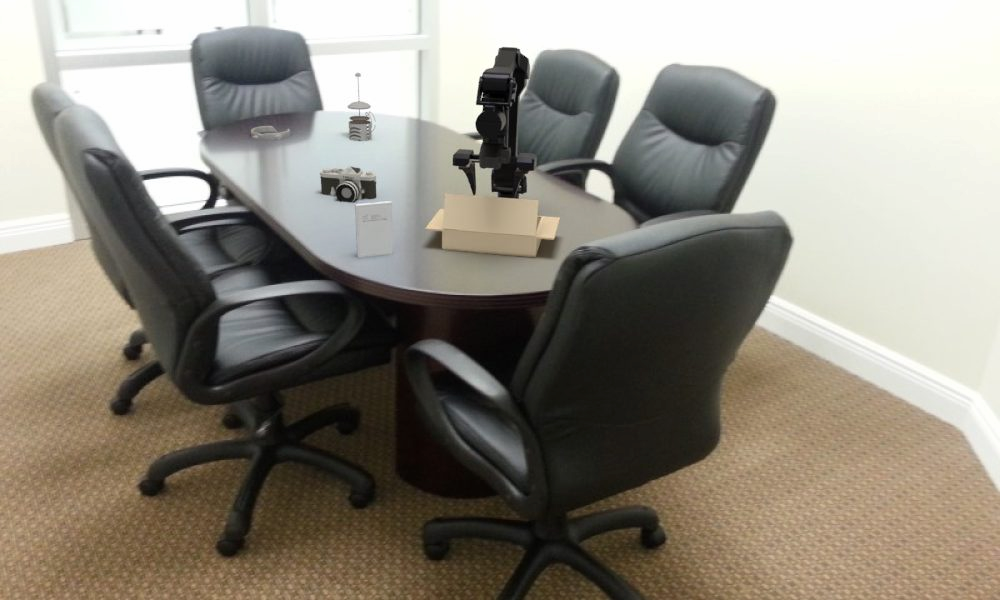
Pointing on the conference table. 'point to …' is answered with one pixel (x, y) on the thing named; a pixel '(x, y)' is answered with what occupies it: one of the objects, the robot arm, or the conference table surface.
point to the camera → (348, 184)
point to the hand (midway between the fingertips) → (493, 196)
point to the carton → (495, 238)
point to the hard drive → (374, 228)
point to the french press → (360, 120)
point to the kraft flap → (490, 214)
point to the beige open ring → (269, 136)
